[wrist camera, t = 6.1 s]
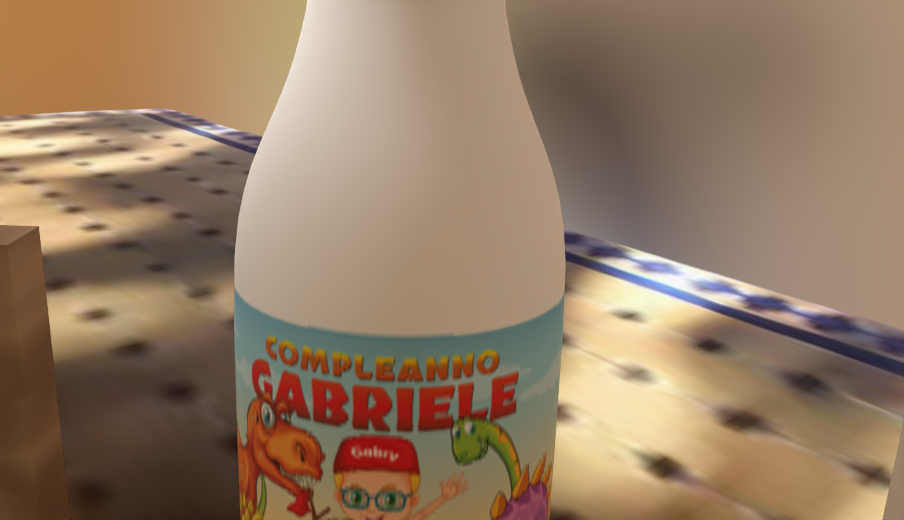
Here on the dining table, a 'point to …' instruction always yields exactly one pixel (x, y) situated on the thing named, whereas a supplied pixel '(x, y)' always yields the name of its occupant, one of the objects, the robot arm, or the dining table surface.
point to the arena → (28, 387)
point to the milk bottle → (399, 276)
